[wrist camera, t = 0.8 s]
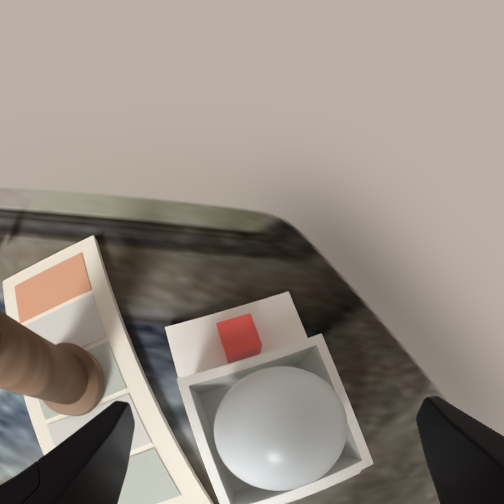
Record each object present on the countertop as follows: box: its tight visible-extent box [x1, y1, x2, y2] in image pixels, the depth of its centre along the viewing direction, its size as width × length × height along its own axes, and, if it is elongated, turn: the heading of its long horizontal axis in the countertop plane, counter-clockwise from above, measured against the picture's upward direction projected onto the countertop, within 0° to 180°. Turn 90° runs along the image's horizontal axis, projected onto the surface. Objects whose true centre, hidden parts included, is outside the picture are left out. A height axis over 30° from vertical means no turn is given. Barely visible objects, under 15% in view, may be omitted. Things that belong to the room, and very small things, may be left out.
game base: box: [165, 291, 373, 504], centre depth 17 cm, size 14×9×6 cm, turn 19°
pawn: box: [0, 310, 104, 416], centre depth 13 cm, size 5×5×13 cm
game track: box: [3, 235, 214, 504], centre depth 19 cm, size 23×10×1 cm, turn 29°
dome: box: [214, 366, 348, 491], centre depth 13 cm, size 6×6×6 cm
